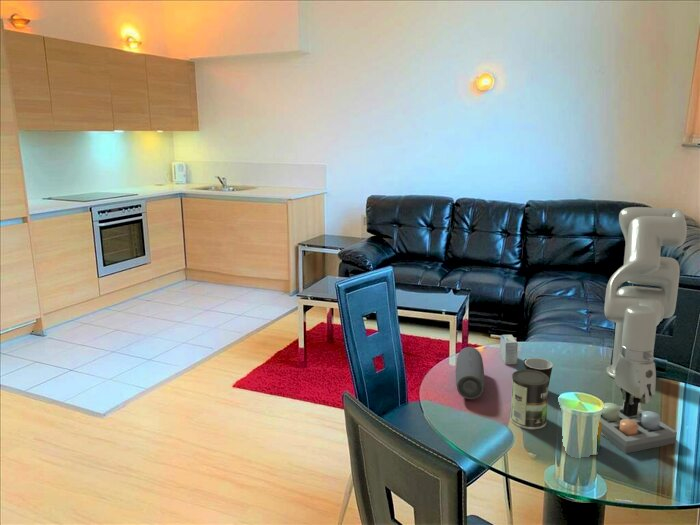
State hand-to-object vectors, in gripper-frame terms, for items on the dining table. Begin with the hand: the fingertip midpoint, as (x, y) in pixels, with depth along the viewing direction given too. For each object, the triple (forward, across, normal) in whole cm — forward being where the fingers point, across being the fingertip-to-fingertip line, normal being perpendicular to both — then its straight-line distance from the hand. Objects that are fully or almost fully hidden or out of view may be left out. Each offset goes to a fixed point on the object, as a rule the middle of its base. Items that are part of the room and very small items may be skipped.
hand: (629, 414), depth 146 cm
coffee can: (+8, +17, +20) cm, 27 cm away
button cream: (+5, +7, -7) cm, 10 cm away
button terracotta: (+6, 0, 0) cm, 6 cm away
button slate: (+4, 0, -7) cm, 8 cm away
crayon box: (+8, 0, +12) cm, 14 cm away
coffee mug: (+8, +33, +7) cm, 35 cm away
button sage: (+4, +7, 0) cm, 8 cm away
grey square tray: (+8, +3, -3) cm, 9 cm away
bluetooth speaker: (+8, +42, +27) cm, 50 cm away
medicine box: (+9, +56, +4) cm, 57 cm away
